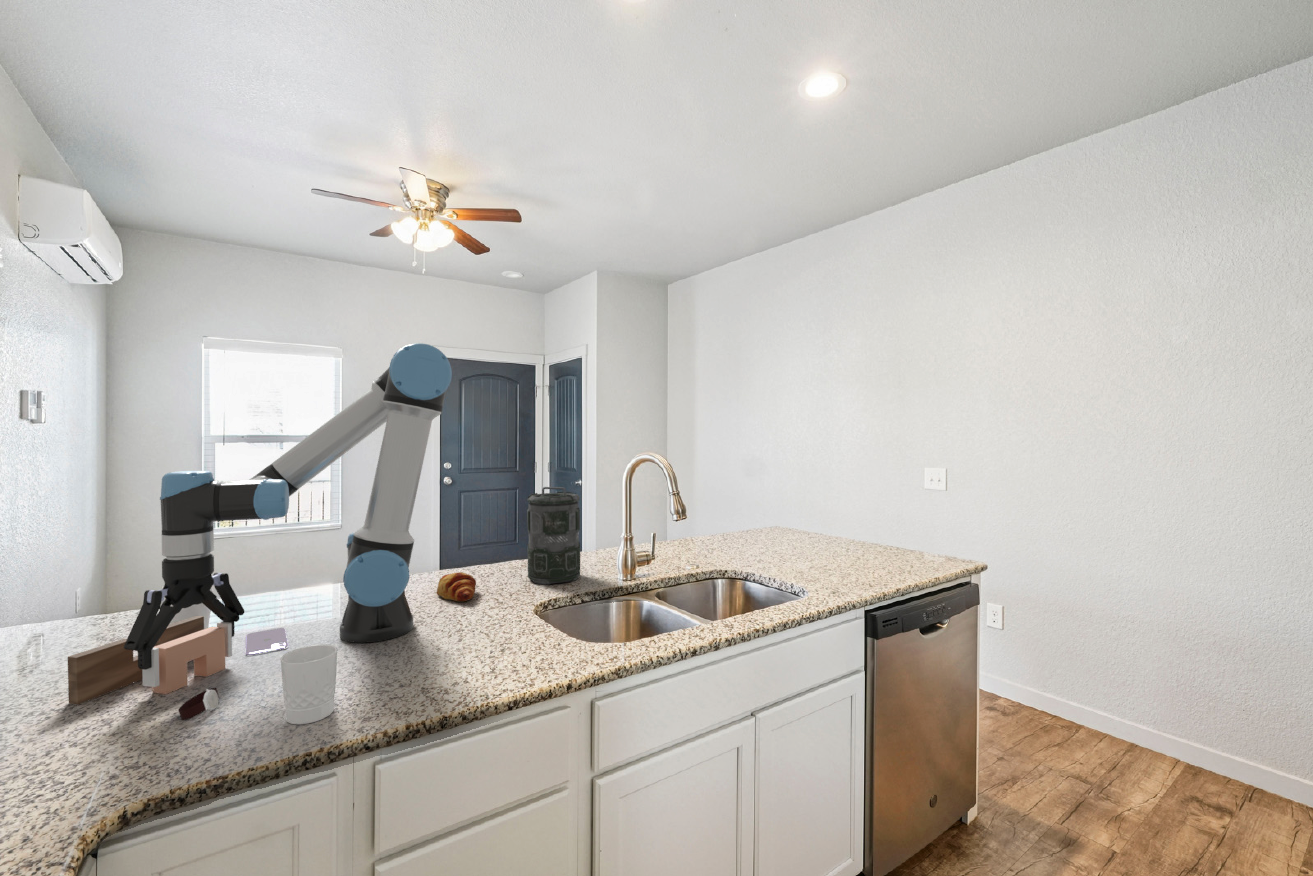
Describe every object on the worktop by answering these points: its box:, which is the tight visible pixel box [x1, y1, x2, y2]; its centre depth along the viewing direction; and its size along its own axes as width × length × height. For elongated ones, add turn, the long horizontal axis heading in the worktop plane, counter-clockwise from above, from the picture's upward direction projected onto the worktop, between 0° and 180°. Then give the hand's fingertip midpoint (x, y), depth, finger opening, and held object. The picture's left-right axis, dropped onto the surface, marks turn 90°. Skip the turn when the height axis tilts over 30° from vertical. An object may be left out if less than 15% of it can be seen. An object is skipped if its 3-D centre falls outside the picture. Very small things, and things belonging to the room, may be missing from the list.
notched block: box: [152, 626, 226, 695], centre depth 109 cm, size 11×3×8 cm, turn 167°
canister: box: [526, 486, 581, 586], centre depth 180 cm, size 16×16×28 cm
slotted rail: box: [67, 616, 204, 706], centre depth 110 cm, size 2×22×8 cm, turn 167°
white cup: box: [280, 644, 338, 725], centre depth 96 cm, size 8×8×10 cm
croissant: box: [436, 572, 477, 603], centre depth 163 cm, size 21×10×8 cm, turn 35°
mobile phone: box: [244, 627, 289, 656], centre depth 128 cm, size 8×1×15 cm
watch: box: [177, 687, 220, 721], centre depth 97 cm, size 8×5×4 cm, turn 13°
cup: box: [160, 585, 214, 629], centre depth 131 cm, size 9×9×12 cm
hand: (190, 670), depth 109 cm, fingers open, 13 cm apart
